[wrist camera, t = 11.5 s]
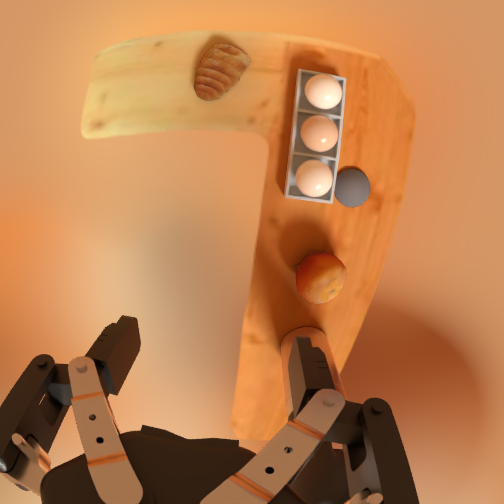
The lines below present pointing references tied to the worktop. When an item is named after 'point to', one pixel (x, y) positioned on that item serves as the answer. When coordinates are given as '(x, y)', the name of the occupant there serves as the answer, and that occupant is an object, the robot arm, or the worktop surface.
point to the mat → (352, 187)
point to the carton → (299, 149)
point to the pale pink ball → (319, 133)
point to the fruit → (320, 277)
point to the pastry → (220, 71)
